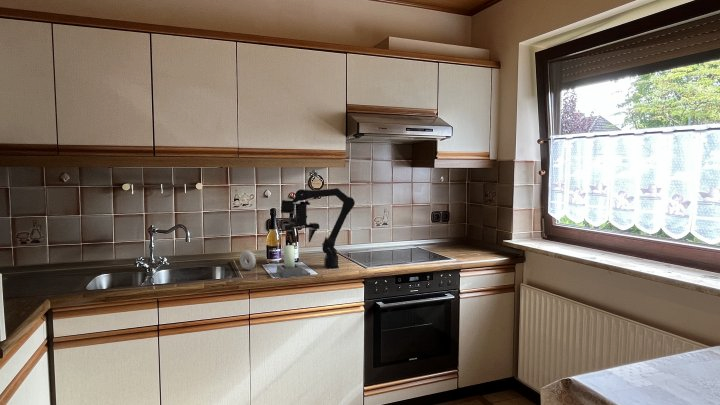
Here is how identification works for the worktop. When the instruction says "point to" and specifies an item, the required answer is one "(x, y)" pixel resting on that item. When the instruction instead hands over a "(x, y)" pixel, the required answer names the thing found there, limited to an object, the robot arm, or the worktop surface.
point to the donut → (244, 263)
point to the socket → (291, 271)
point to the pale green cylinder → (289, 257)
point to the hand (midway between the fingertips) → (300, 242)
